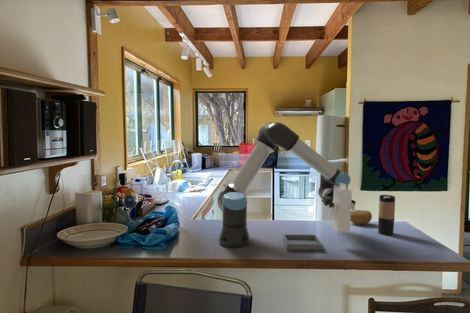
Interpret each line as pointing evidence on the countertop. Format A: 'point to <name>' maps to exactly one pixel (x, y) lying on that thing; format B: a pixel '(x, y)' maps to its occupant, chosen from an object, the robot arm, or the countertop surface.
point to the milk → (342, 209)
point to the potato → (360, 216)
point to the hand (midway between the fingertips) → (345, 207)
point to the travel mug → (386, 214)
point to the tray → (302, 242)
